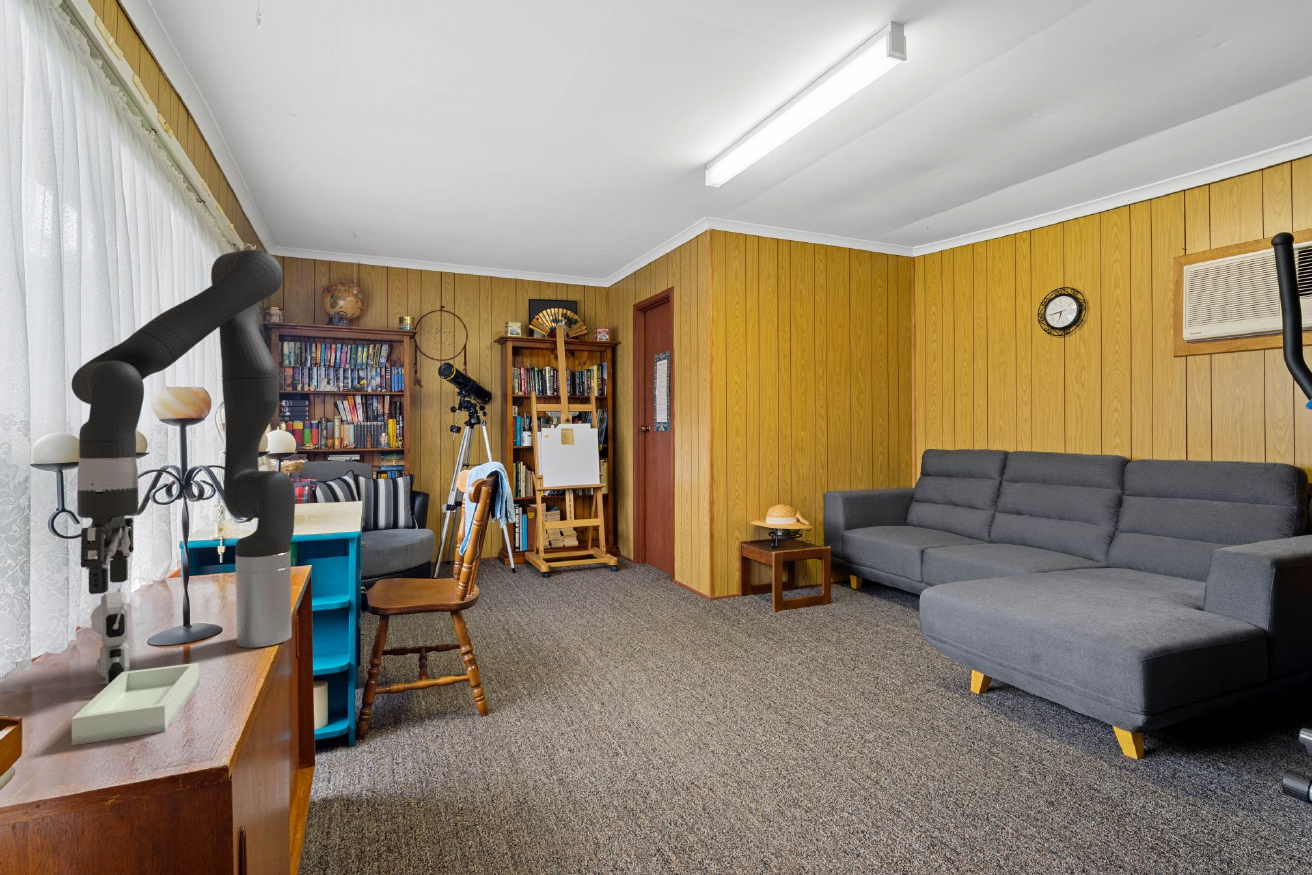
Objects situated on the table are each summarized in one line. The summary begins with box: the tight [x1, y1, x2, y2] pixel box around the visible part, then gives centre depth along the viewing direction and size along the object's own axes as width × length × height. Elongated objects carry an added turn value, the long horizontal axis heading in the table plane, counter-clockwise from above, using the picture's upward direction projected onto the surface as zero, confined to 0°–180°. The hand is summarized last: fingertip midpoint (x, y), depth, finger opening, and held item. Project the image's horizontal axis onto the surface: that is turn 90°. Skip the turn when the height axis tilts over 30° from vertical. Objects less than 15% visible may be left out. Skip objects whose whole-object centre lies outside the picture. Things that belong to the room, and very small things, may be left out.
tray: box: [71, 662, 200, 746], centre depth 96 cm, size 18×10×4 cm, turn 23°
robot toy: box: [90, 587, 130, 685], centre depth 105 cm, size 12×4×15 cm, turn 42°
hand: (109, 587), depth 105 cm, fingers open, 8 cm apart
